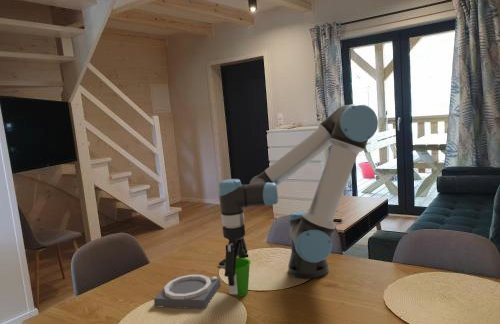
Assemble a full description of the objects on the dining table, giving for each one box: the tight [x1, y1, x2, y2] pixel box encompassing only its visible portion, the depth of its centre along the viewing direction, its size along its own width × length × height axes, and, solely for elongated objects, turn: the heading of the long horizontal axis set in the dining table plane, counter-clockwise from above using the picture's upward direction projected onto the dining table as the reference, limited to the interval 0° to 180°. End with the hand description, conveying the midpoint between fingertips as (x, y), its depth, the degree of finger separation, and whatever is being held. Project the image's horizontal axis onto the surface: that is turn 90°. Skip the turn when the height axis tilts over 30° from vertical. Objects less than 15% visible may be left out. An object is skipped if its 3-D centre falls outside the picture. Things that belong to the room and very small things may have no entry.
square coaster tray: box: [153, 274, 221, 310], centre depth 129 cm, size 18×16×4 cm
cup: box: [224, 257, 251, 297], centre depth 127 cm, size 9×9×11 cm
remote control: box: [218, 255, 241, 269], centre depth 156 cm, size 6×13×2 cm, turn 148°
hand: (238, 284), depth 127 cm, fingers open, 13 cm apart
